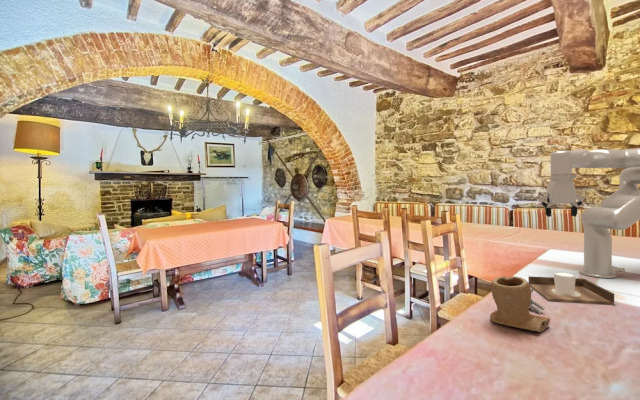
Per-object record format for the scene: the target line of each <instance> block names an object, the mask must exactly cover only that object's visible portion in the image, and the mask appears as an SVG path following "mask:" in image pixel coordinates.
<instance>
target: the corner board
mask: <svg viewBox="0 0 640 400" xmlns="http://www.w3.org/2000/svg"><path fill="white" fill-rule="evenodd" d="M528 283H529V285H530V288H531V290H532V289H534V290H533V291H535V292H536V293H537V294H539V295H540V296H541V297H542V298H544V299H545V300H546V301H547V302H556V303H557V302H558V303H573V304H574V303H576V304H589V305H590V304H591V305H592V304H593V305H608V306H615V293H614V292H612V291H610V290H607V289H605V288H603V287H601V286H600V285H598V284H596V283H593V282H592V281H590V280H589V279H586V278H577V277H576V280H575V288H574V294H572V295H567V294H561V293H558V292H556V291H555V282H554V276H551V277H549V276H528Z"/></svg>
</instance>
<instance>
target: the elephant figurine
mask: <svg viewBox="0 0 640 400" xmlns="http://www.w3.org/2000/svg"><path fill="white" fill-rule="evenodd" d="M534 291H535V290H534V289H532V288H531V294H532V293H533V292H534ZM529 308H531V309H532V310H534V311H535V312H536V313H538V314H539V315H540V314H542V311H544V310H545V307H544V306H542V305H541V304H539V303H538V302H537V301H534V299H533V298H531V301H530V306H529Z"/></svg>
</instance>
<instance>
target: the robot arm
mask: <svg viewBox="0 0 640 400" xmlns="http://www.w3.org/2000/svg"><path fill="white" fill-rule="evenodd" d="M580 168H581V169H623V170H622V171H621V172H620V173H619V177H618V179H619V186H618V189H617V190H615V191H614V192H613V193H611V194H610V195H609V196H607V197H606V198H605V199H604V200H602V202H601V204H600V206H591V207H587V208H585V209H584V210H583V211H582V213H581V215H580V216H581V223H582V228H583V268H582V269H581V268H580V269H579V273H580V274H581V275H584V276H586V277H587V276H588V277H592V278H597V279H615V278H617V272H618V273H626V269H625V267H618V266H613V265H612V261H613V259H612V257H613V248H612V246H613V237H612V234H611V233H610V231H609V230H614V231H615V230H616V231H622V230H627V229H629V228H630V227H632V226H633V225H634V224H636V223H637V222H638V221H640V189H639V187H638V185H640V147H637V148H636V147H635V148H627V149H606V148H605V149H595V150H594V149H593V150H587V149H576V150H556V151H553V152H551V153H550V181H548V182H547V187H546V193H545V195H543V196H541V197H538V201H539V202H540V204H541V205H542V206H543V207H544V212H545V213H544V214H545V215H546V217H549V218H550V217H552V208H551V207H552V206H553V205H554V204H558V205H560V204H569V205H571V207H570V216H571V217H577V215H578V208H580V206H581V205H582V204H583V202H584V200H585V198H586V197H584V196H581V195H579V194H577V191H576V186H575V182H574V181H573V179H576V175H573V169H580ZM577 199H578V201H577Z"/></svg>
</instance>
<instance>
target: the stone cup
mask: <svg viewBox="0 0 640 400" xmlns="http://www.w3.org/2000/svg"><path fill="white" fill-rule="evenodd" d="M490 289H491V294H492V295H491V296H492V298H493V300H494V303H495V305H496V309H497V310H494V311H493V312H491V313H490V314H489V318H490V320H491V321H492V322H493V323H496V324H499V325H504V326H508V327H513V328H517V329H522V330H527V331H533V332H539V333H541V332H543V331H545V330H546V329H547V328H548V326H550V322H551V319H550V318H549V317H544V316H539V315H534V314H531V313H530V307H529V306H530V301H531V299H532V293H531V290H532V288H531V287H530V285H529V281H528V280H526V279H525V278H523V277H521V276H515V275H514V276H513V275H512V276H498V277H496V278H494V279H492V281H491V282H490Z"/></svg>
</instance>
